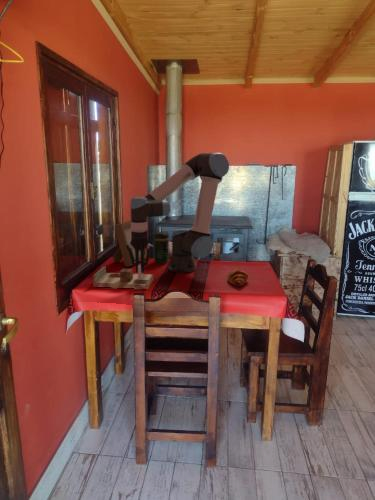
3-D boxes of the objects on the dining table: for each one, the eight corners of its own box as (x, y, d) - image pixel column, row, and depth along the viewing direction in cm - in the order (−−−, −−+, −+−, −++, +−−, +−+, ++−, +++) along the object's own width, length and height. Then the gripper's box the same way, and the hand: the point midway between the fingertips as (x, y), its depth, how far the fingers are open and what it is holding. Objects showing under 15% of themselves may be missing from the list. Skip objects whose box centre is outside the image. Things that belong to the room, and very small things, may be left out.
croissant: (230, 281, 193) (223, 268, 192) (246, 273, 192) (240, 260, 190) (233, 294, 172) (226, 280, 171) (252, 285, 171) (245, 271, 170)
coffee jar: (165, 264, 212) (165, 233, 207) (153, 263, 214) (152, 232, 209) (170, 260, 221) (170, 230, 217) (158, 259, 223) (158, 230, 218)
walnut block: (132, 278, 177) (132, 269, 175) (130, 282, 172) (130, 272, 171) (123, 278, 177) (122, 268, 176) (120, 281, 172) (119, 271, 171)
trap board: (153, 279, 184) (153, 268, 183) (147, 289, 169) (146, 277, 167) (104, 277, 187) (103, 266, 185) (93, 287, 171) (93, 275, 170)
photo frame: (147, 258, 225) (146, 218, 219) (131, 267, 205) (129, 224, 199) (126, 256, 230) (125, 217, 224) (109, 265, 210) (106, 223, 204)
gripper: (154, 229, 170) (155, 276, 175) (127, 228, 171) (128, 276, 176) (151, 232, 162) (152, 281, 168) (123, 231, 163) (125, 280, 169)
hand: (140, 278), depth 172 cm, fingers closed
